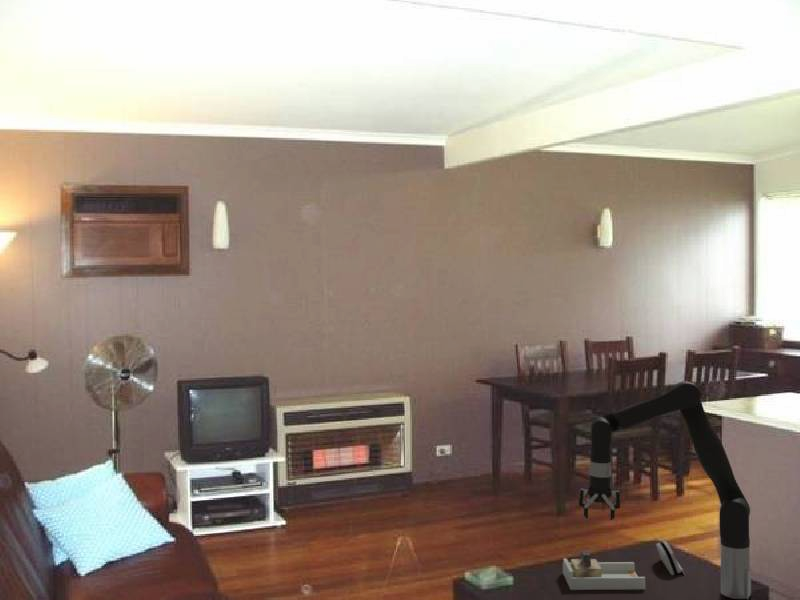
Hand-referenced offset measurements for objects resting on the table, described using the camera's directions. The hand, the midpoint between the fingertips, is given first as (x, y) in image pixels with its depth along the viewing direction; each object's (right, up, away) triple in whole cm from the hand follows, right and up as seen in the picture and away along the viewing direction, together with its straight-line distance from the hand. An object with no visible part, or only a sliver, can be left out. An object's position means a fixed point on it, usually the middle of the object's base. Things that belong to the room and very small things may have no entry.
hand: (598, 518), depth 298 cm
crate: (-4, -22, +2) cm, 22 cm away
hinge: (+30, -22, +15) cm, 40 cm away
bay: (+2, -23, +1) cm, 23 cm away
